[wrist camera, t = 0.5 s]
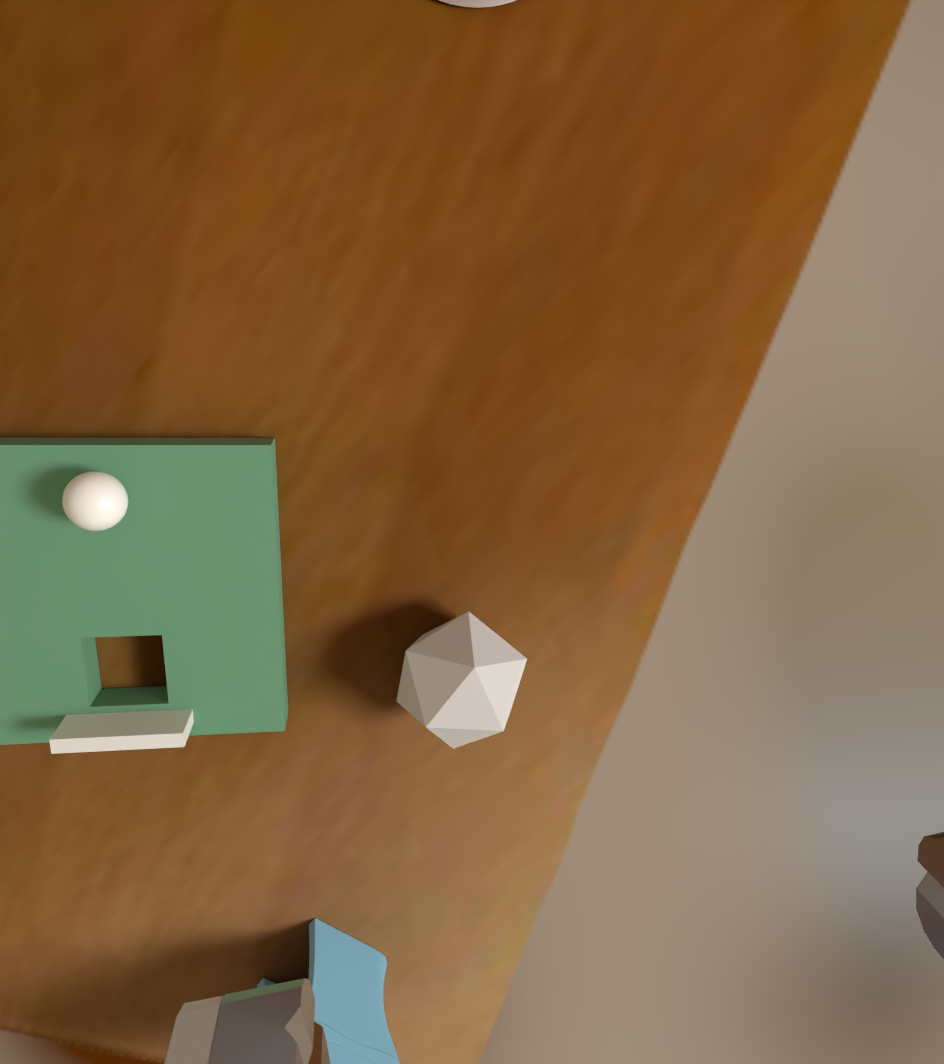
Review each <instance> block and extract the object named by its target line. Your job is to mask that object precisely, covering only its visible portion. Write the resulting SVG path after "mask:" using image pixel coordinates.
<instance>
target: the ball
mask: <svg viewBox="0 0 944 1064" xmlns="http://www.w3.org/2000/svg"><path fill="white" fill-rule="evenodd" d="M62 505H63V509H64V512H65V514H66V515H67V517H68V518H69V519H70V520H71V521H72V522H73V523H74V524H75V525H77V526H79V527H80V528H83V529H86V530H91V531H101V530H105V529H109V528H111V527H113V526H114V525H116V524H117V523H118V522H120V521H121V519H122V518H123V517H124V515H125V513H126V511H127V507H128V496H127V492H126V490H125V488H124V486H123V485H122V484H121V482H120V481H119V480H117V479H116V478H115V477H113V476H111V475H109V474H107V473H104V472H97V471H93V472H86V473H83V474H80V475H78V476H76V477H75V478H73V479H72V480H71V481H70V482H69V483H68V485H67V486H66V488H65V490H64V492H63V497H62Z"/></svg>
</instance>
